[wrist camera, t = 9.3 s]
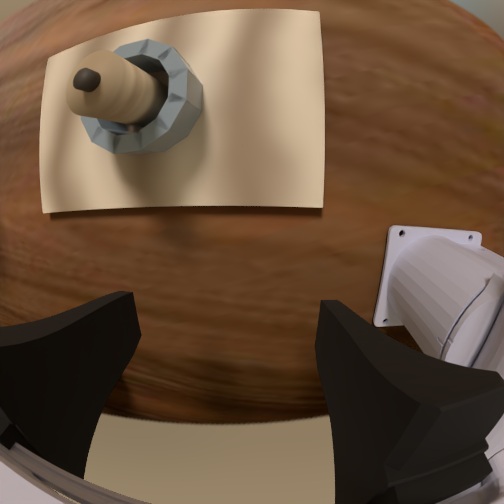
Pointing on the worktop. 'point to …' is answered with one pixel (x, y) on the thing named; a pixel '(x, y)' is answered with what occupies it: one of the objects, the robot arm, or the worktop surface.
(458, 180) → the worktop surface
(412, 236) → the robot arm
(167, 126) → the grey faceted ring
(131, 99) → the wick peg
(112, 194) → the board
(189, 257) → the worktop surface
